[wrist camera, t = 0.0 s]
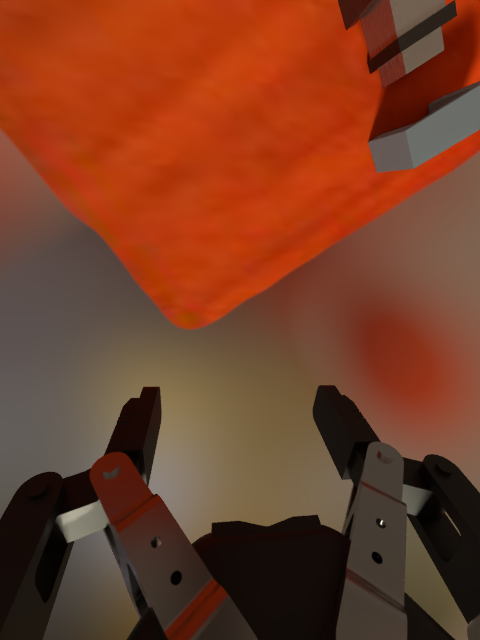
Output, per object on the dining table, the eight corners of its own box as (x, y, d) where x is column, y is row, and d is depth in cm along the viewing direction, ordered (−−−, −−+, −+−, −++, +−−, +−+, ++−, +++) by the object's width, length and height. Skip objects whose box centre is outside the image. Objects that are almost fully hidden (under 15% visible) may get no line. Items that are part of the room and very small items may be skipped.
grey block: (368, 142, 35) (405, 130, 29) (441, 96, 34) (498, 73, 27) (376, 172, 37) (413, 168, 30) (447, 129, 36) (501, 116, 29)
